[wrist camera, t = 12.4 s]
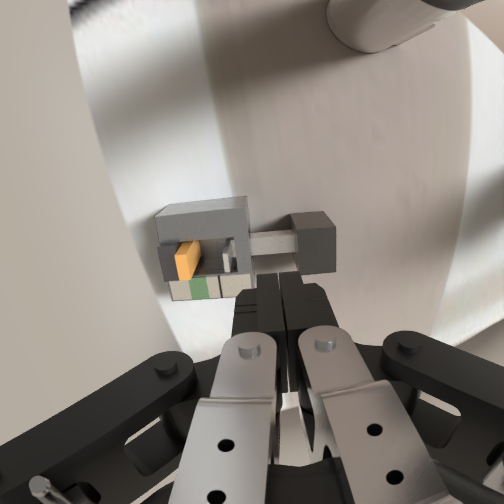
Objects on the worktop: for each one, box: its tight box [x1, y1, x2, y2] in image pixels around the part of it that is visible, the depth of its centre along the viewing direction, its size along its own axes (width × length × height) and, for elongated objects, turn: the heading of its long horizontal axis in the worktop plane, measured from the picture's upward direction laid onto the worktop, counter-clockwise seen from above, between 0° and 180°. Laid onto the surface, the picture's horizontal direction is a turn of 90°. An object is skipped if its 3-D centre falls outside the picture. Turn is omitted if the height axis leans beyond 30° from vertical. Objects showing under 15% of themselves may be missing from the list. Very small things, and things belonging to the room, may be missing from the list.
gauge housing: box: [155, 196, 255, 301], centre depth 36 cm, size 10×10×7 cm
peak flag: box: [174, 240, 201, 281], centre depth 35 cm, size 1×3×7 cm, turn 5°
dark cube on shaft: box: [222, 211, 336, 275], centre depth 35 cm, size 12×5×8 cm, turn 95°
